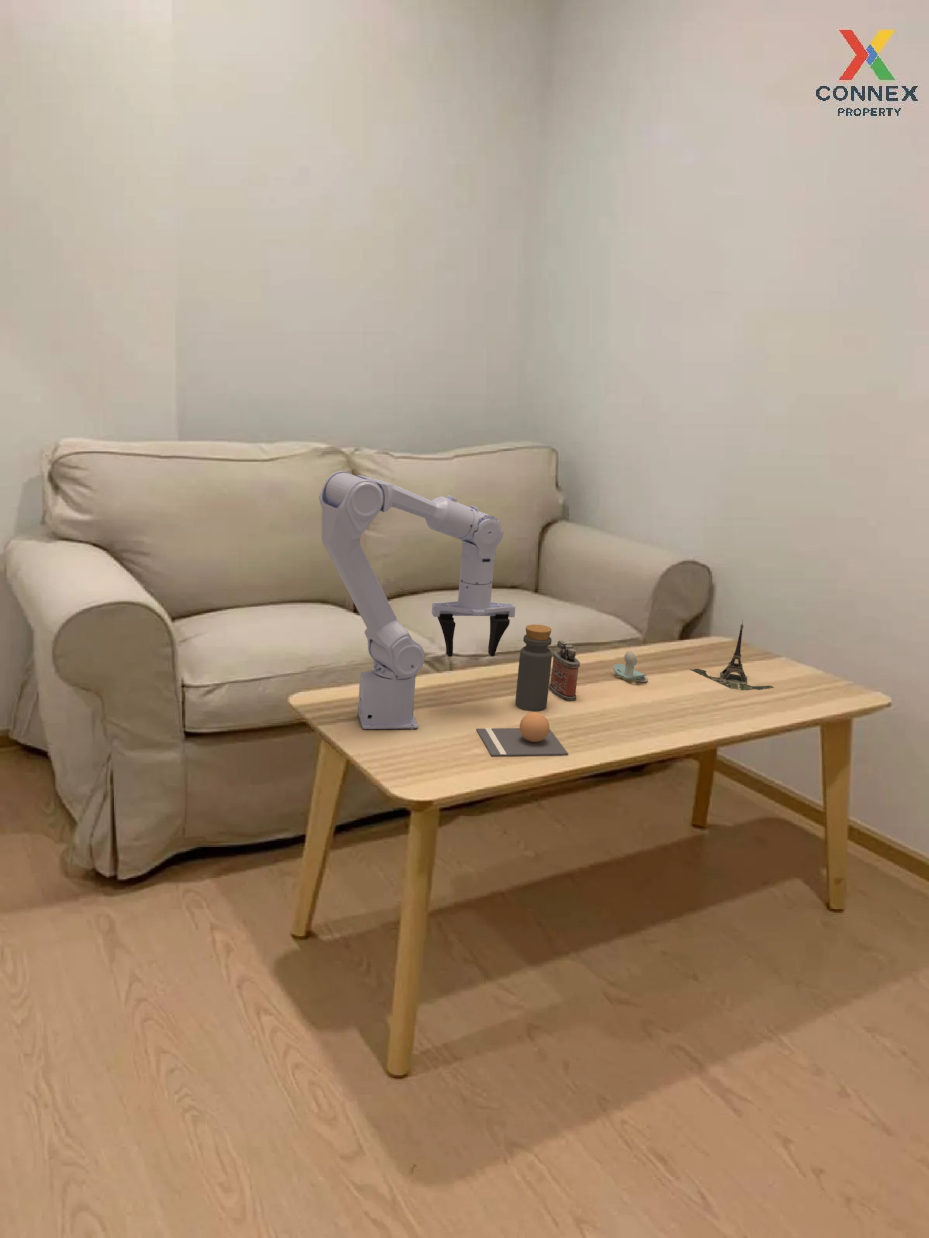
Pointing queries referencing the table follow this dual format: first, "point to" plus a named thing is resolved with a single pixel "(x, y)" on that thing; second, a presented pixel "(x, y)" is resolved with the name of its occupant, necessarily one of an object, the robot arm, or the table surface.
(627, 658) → the pacifier
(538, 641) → the bottle
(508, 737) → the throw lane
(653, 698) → the table surface
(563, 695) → the lighter
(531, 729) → the ball
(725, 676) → the eiffel tower figurine
